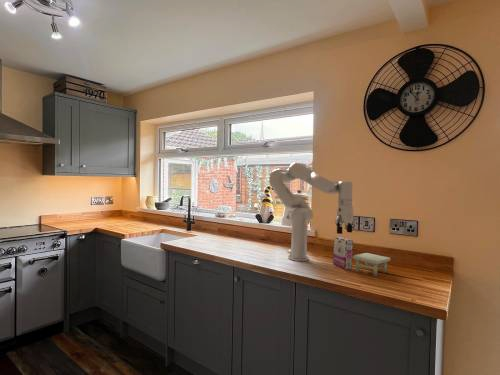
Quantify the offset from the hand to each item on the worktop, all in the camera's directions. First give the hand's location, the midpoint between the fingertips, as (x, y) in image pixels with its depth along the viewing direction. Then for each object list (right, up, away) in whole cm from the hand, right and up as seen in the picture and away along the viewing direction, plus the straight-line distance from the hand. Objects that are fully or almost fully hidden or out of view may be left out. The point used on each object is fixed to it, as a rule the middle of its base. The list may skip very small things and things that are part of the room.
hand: (344, 232), depth 169 cm
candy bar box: (-1, -20, +1) cm, 20 cm away
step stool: (+12, -20, -7) cm, 24 cm away
